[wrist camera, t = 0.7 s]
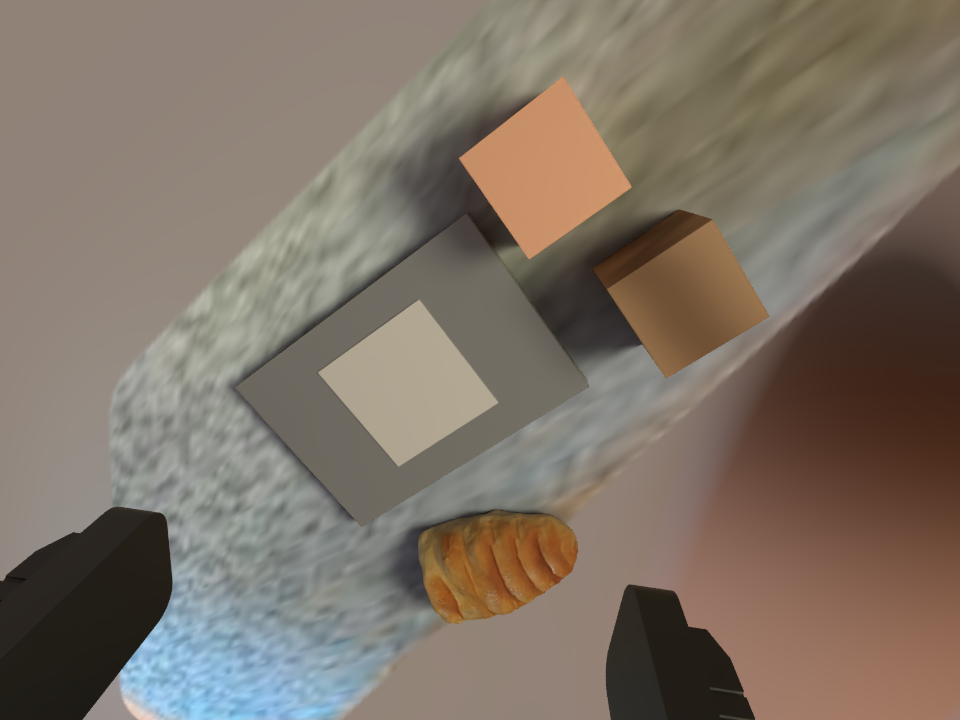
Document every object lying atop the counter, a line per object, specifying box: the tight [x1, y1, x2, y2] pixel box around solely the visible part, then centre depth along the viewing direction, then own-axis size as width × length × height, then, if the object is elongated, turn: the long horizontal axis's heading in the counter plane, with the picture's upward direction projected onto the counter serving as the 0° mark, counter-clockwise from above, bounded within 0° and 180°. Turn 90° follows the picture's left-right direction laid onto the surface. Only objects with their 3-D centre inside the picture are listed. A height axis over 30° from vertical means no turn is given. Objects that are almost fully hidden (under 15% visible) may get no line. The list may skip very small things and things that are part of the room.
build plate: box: [235, 212, 589, 527], centre depth 31 cm, size 16×11×1 cm
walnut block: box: [592, 210, 770, 378], centre depth 26 cm, size 5×5×5 cm
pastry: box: [418, 510, 578, 624], centre depth 33 cm, size 9×7×4 cm
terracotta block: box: [459, 77, 632, 259], centre depth 25 cm, size 5×5×5 cm
